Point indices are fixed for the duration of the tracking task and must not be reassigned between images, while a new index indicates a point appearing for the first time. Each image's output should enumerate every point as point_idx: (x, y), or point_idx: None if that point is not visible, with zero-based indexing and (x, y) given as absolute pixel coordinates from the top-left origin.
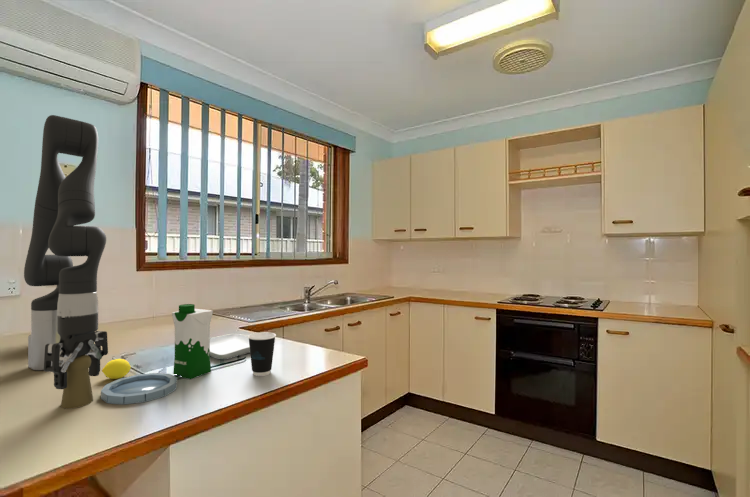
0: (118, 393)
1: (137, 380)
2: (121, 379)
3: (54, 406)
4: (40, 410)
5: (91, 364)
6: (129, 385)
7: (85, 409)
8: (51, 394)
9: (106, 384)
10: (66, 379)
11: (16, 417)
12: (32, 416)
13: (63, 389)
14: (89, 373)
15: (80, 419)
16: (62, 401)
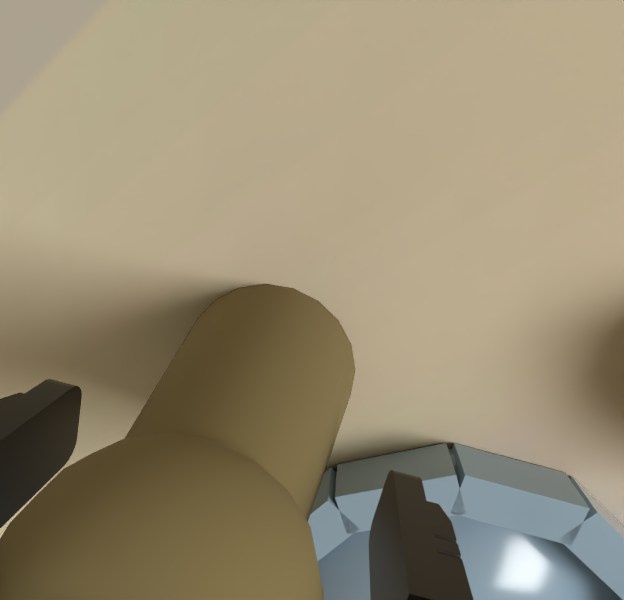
0: (352, 563)
1: (606, 584)
2: (575, 530)
3: (219, 259)
4: (157, 212)
5: (390, 583)
6: (501, 571)
7: None
8: (457, 70)
9: (469, 475)
10: (13, 507)
11: (52, 135)
12: (73, 227)
13: (183, 352)
14: (390, 484)
15: None
16: (192, 329)
